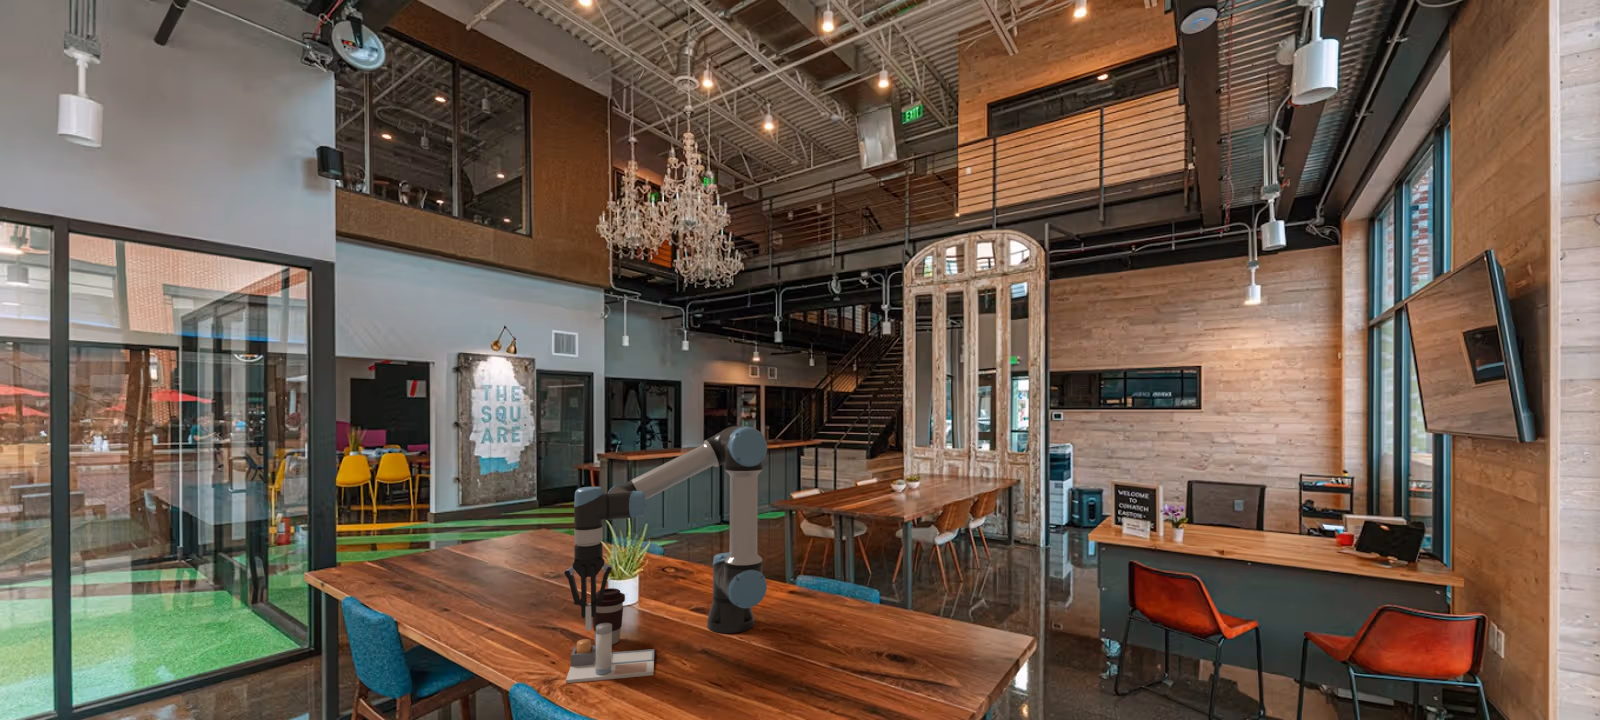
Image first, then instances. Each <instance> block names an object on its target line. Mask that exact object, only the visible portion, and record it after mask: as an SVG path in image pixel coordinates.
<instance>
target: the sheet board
mask: <svg viewBox="0 0 1600 720" xmlns="http://www.w3.org/2000/svg"><path fill="white" fill-rule="evenodd" d="M571 651H572V652H571V653H570V667H569V671H568V673H567V675H566V679H565V684H571V683H572V684H574V683H584V682H596V681H604V680H615V679H618V680H619V679H627V678H635V677H637V678H638V677H647V676H648V677H649V676H650V677H651V676H654V671H655V669H654V668H655V667H654V666H655V665H654V663H655V648H652V649H639V650H628V651H627V650H626V651H615V652H614V651H613V652H611V672H610V673H609V674H606V675H597V674H596V673H595V670H596V644H594V645H593V644H591V652H590V653H578V654H577V646H573V649H572V650H571Z"/></svg>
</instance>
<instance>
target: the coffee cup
mask: <svg viewBox="0 0 1600 720" xmlns="http://www.w3.org/2000/svg"><path fill="white" fill-rule="evenodd" d="M599 593H600V589H599V590H598V591H596V598H597V597H599ZM625 601H626V595H625V593H623V592H621V590H620V589H619V588H614V587H611V588H610V587H609V588H605V591H604V596H603V599H602V602H600V603H597V604H596V615H595V617H592V629H593V631H594V632H593V636H594V645H596V626H597V625H598V624H601V623H611V624H612V646H613V645H615V644H618V643H619V641H620V639H621V630H622V629H621V628H622V624H623V614H624V607H623V605H624V602H625Z"/></svg>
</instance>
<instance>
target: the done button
mask: <svg viewBox="0 0 1600 720" xmlns="http://www.w3.org/2000/svg"><path fill="white" fill-rule="evenodd" d="M591 645H592V640H591V639H589V638H588V639H586V638H584V639H583V638H582V639H579V640H577V642H576V647H577V654H578V653H590V652H591Z"/></svg>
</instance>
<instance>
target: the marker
mask: <svg viewBox="0 0 1600 720" xmlns="http://www.w3.org/2000/svg"><path fill="white" fill-rule="evenodd" d="M595 645H596V670H595V673H596V674H597V675H606V674H609V673H610V672H611V653H613V652H612V651H613V650H612V647H613V645H612V624H611V623H601V624H598V625H597V626H596V644H595Z"/></svg>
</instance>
